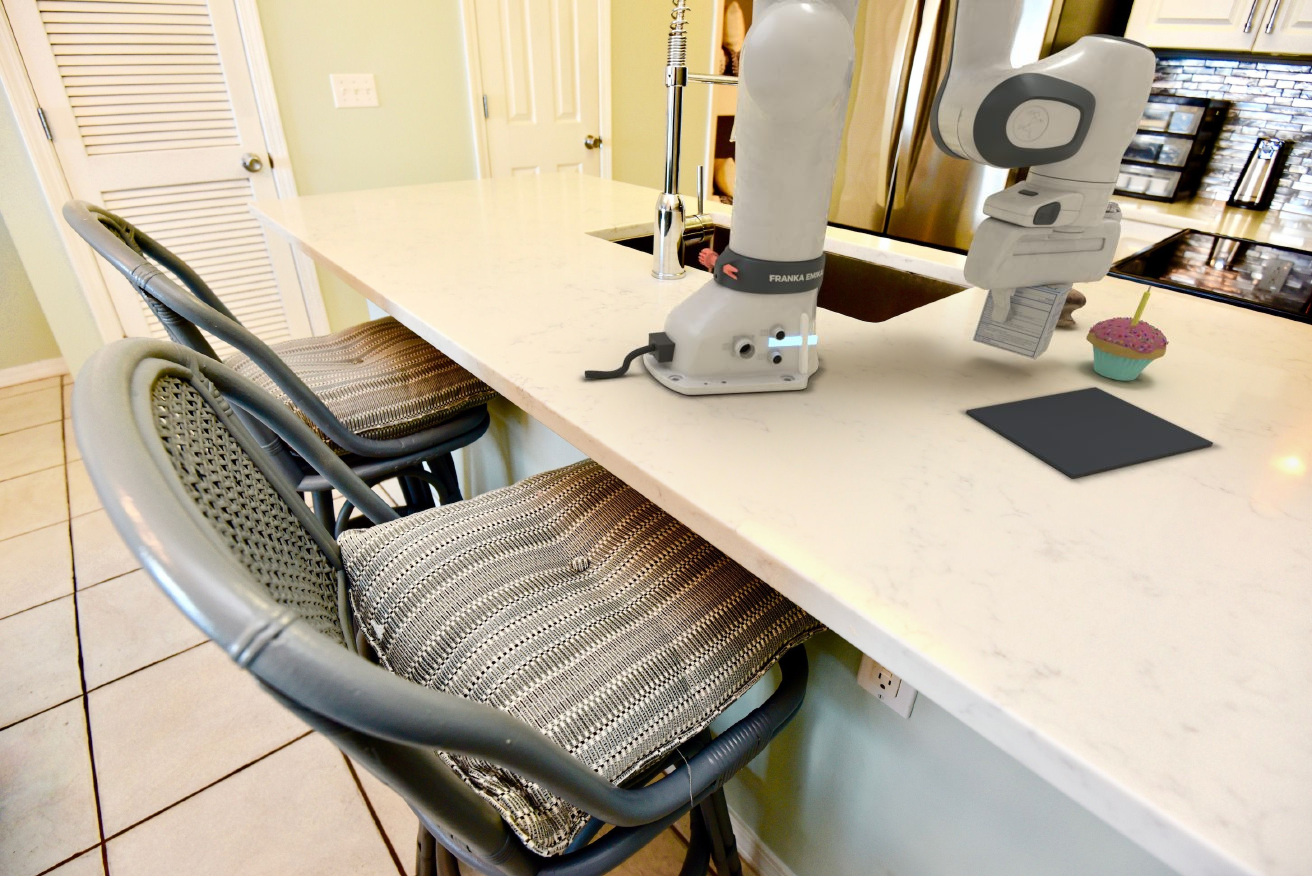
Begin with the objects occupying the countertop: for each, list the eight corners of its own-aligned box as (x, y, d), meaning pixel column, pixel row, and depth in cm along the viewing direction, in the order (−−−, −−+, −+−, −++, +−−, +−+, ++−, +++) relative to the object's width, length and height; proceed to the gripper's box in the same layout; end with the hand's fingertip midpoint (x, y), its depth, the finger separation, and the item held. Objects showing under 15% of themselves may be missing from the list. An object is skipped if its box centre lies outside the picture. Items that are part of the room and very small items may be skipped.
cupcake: (1152, 393, 81) (1196, 297, 75) (1073, 376, 84) (1109, 283, 78) (1151, 369, 87) (1190, 279, 81) (1077, 354, 91) (1110, 267, 85)
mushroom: (1099, 315, 95) (1088, 274, 96) (1037, 330, 98) (1027, 290, 98) (1085, 325, 102) (1075, 286, 103) (1028, 339, 105) (1018, 301, 106)
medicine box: (1046, 352, 84) (1072, 285, 80) (1035, 361, 81) (1061, 292, 77) (984, 333, 88) (1005, 269, 84) (971, 341, 86) (992, 275, 81)
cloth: (1072, 478, 63) (1073, 475, 63) (965, 413, 75) (966, 409, 74) (1211, 445, 70) (1213, 442, 70) (1094, 389, 81) (1095, 386, 81)
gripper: (1102, 196, 82) (1060, 304, 89) (973, 198, 75) (940, 315, 82) (1151, 207, 77) (1103, 321, 84) (1018, 210, 70) (978, 334, 77)
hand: (1021, 318), depth 83 cm, fingers closed on medicine box, 6 cm apart
